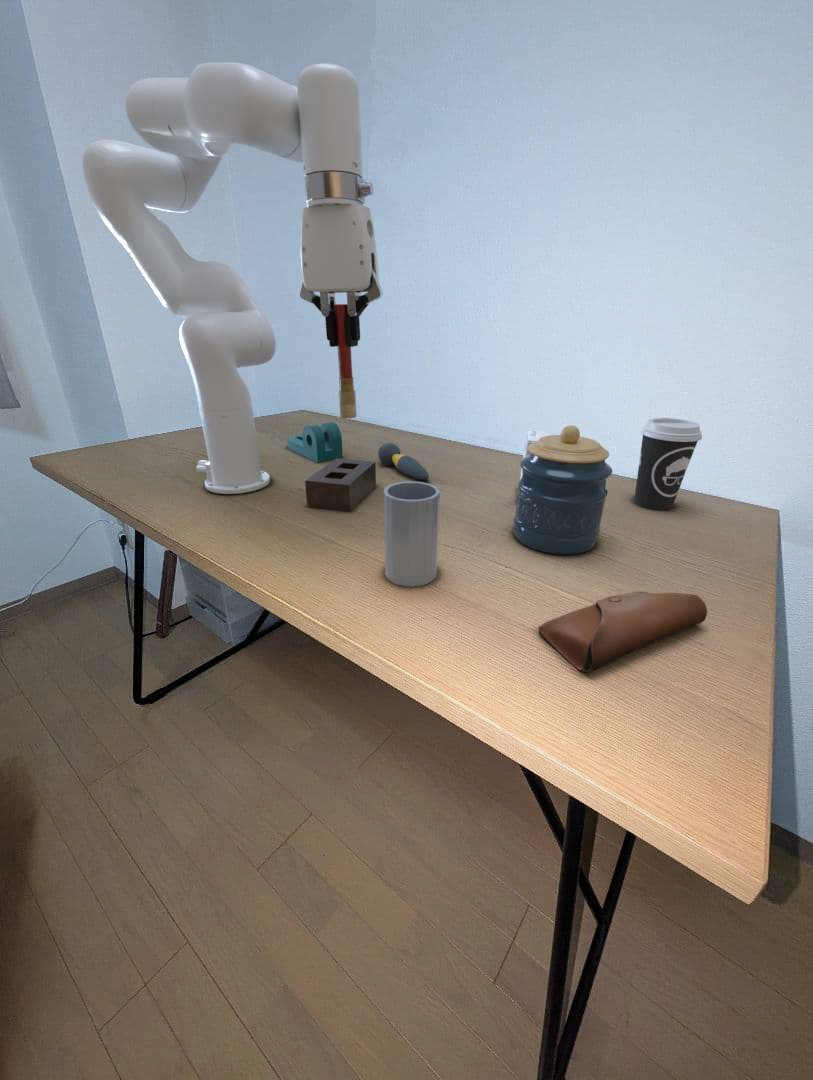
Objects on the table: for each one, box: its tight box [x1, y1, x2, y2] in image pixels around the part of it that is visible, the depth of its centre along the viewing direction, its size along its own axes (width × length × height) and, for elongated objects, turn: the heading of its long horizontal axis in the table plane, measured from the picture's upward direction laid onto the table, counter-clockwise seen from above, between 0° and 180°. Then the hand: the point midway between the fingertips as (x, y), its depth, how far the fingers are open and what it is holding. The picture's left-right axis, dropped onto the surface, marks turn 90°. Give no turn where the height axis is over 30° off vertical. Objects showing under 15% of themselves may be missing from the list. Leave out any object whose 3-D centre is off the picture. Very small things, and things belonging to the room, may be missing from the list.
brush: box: [335, 303, 358, 419], centre depth 71 cm, size 3×3×16 cm
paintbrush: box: [377, 442, 430, 481], centre depth 103 cm, size 20×5×5 cm, turn 38°
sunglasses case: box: [538, 591, 708, 673], centre depth 52 cm, size 18×7×7 cm
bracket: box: [286, 421, 344, 464], centre depth 116 cm, size 18×7×8 cm, turn 39°
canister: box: [512, 424, 613, 555], centre depth 71 cm, size 13×13×18 cm
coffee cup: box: [633, 417, 703, 511], centre depth 84 cm, size 10×10×15 cm
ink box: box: [519, 430, 554, 480], centre depth 88 cm, size 9×5×12 cm, turn 167°
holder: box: [304, 458, 377, 512], centre depth 90 cm, size 8×14×5 cm, turn 165°
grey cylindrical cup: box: [383, 481, 441, 588], centre depth 62 cm, size 7×7×12 cm
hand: (344, 345), depth 70 cm, fingers closed on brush, 2 cm apart
